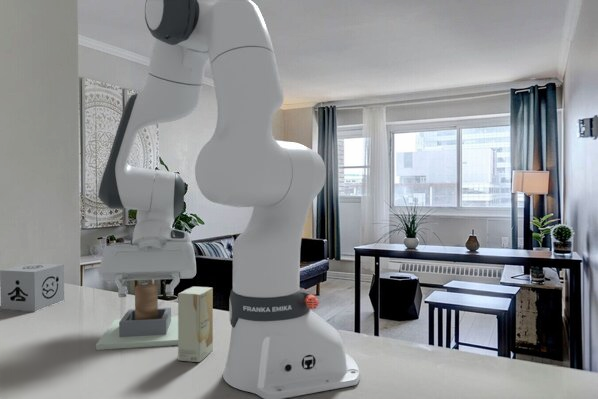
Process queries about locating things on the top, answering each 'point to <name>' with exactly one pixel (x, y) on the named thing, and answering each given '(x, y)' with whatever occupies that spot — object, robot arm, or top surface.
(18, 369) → the top surface
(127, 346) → the collar holder
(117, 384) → the top surface
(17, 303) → the icon cube
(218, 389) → the top surface
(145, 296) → the brown dome-topped peg
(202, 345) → the skincare box
